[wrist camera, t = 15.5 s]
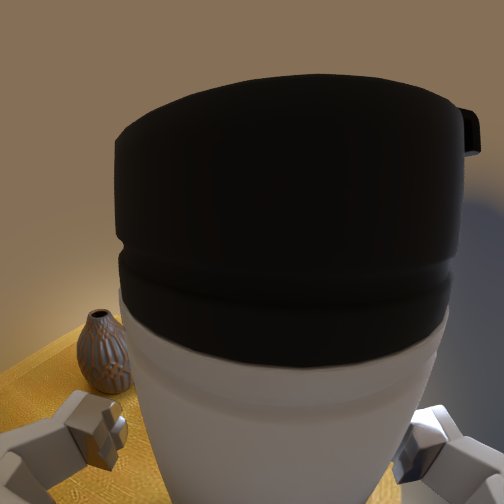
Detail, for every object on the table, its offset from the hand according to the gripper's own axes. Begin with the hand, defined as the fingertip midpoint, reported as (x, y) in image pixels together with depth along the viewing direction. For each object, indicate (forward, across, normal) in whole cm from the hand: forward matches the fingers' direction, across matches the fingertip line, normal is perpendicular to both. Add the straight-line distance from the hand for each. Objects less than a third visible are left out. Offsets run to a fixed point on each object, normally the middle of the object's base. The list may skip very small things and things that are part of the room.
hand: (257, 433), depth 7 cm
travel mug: (0, -1, +12) cm, 12 cm away
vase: (+18, +16, +15) cm, 28 cm away
